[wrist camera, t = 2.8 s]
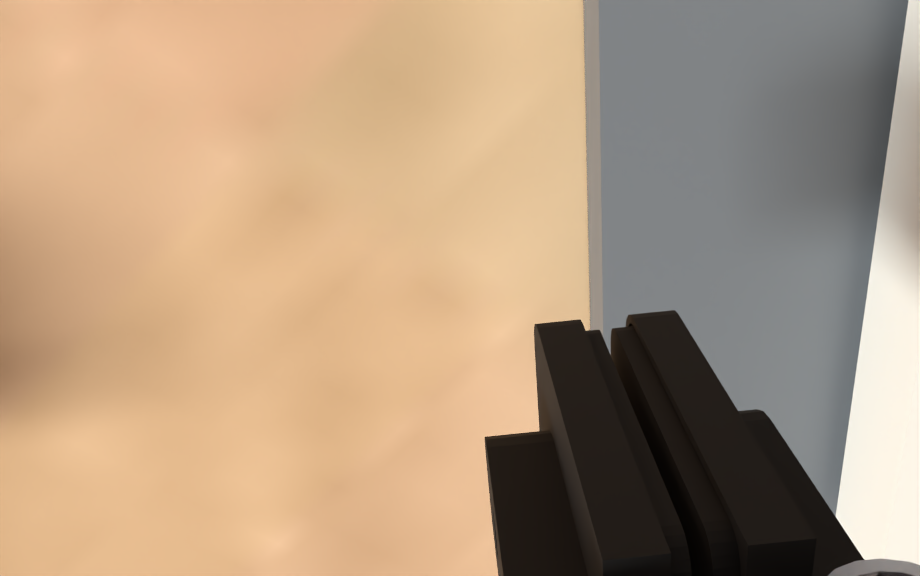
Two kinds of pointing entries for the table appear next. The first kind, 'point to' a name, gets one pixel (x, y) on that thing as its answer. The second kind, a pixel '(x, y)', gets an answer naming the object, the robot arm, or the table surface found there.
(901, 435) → the pointer
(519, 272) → the table surface
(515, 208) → the table surface
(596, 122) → the dial board
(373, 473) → the table surface
